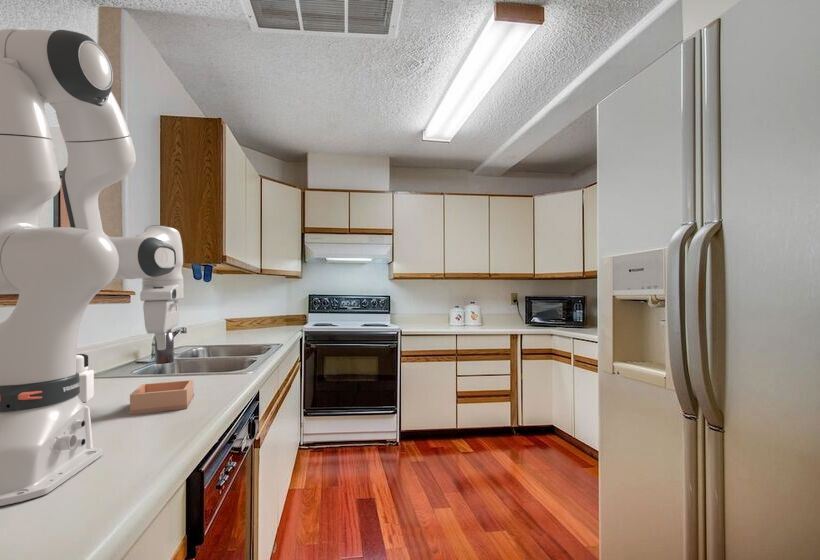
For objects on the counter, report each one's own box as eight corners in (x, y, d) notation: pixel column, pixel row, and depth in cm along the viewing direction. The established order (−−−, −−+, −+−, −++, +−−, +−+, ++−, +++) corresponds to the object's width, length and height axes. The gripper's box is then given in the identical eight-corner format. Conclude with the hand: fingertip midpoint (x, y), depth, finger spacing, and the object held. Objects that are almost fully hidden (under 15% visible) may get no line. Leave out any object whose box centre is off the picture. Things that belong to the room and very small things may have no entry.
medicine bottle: (61, 399, 110) (60, 353, 110) (94, 396, 113) (94, 351, 113) (51, 406, 104) (51, 357, 104) (87, 402, 107) (86, 355, 107)
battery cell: (172, 363, 103) (171, 330, 103) (153, 364, 101) (153, 331, 101) (175, 360, 106) (174, 328, 106) (157, 361, 105) (156, 329, 105)
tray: (186, 408, 100) (186, 389, 100) (130, 414, 96) (129, 394, 96) (193, 396, 111) (193, 379, 111) (142, 401, 107) (142, 383, 107)
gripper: (158, 291, 112) (158, 343, 112) (137, 293, 93) (138, 355, 93) (184, 291, 115) (185, 341, 115) (170, 292, 95) (171, 353, 95)
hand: (164, 348), depth 104 cm, fingers closed on battery cell, 4 cm apart
